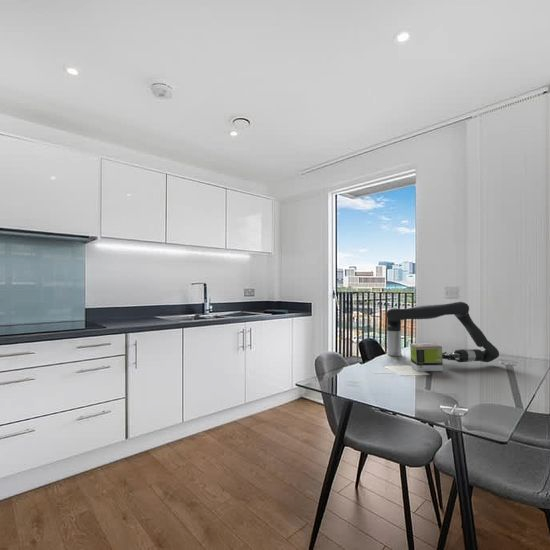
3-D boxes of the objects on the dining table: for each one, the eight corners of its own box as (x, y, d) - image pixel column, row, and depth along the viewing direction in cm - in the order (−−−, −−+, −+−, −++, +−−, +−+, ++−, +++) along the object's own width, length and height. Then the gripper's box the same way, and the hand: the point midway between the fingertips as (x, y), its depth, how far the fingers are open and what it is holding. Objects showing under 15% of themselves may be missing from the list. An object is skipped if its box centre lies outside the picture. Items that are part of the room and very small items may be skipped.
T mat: (364, 368, 203) (364, 367, 203) (411, 365, 206) (411, 365, 206) (378, 377, 183) (378, 377, 183) (429, 375, 186) (429, 374, 186)
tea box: (435, 367, 201) (435, 342, 201) (443, 371, 191) (442, 346, 191) (410, 367, 202) (410, 342, 202) (416, 371, 192) (416, 346, 192)
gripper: (457, 347, 206) (431, 348, 204) (472, 351, 193) (444, 353, 191) (457, 359, 206) (431, 360, 204) (472, 364, 193) (445, 366, 191)
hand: (438, 356), depth 198 cm, fingers closed
